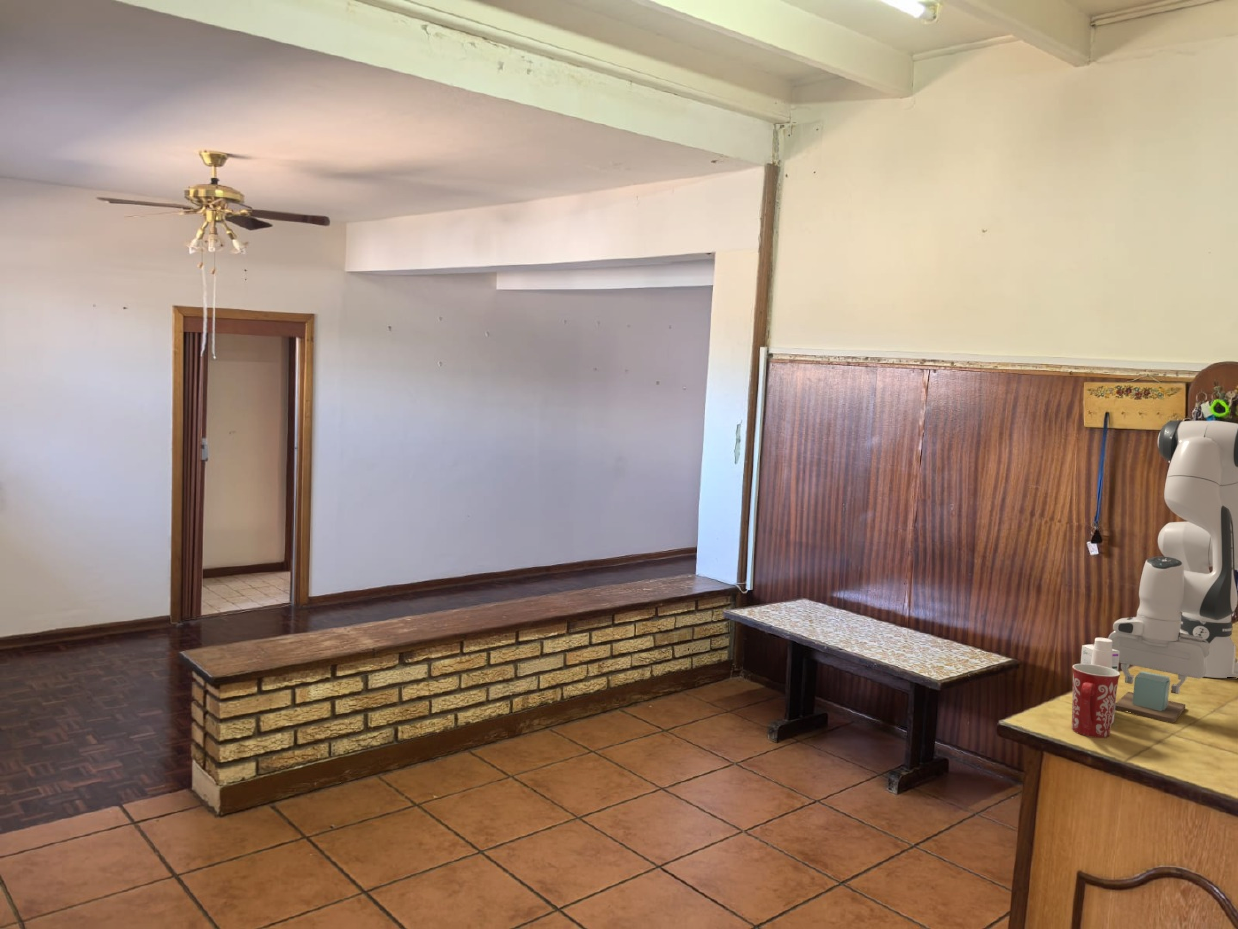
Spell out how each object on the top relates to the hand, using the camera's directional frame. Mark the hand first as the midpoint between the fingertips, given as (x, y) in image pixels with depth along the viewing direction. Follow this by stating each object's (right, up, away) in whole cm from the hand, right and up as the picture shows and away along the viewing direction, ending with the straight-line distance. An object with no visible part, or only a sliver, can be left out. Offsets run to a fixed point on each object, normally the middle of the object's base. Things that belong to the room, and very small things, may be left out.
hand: (1151, 688), depth 219 cm
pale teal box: (0, -4, 0) cm, 4 cm away
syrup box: (-14, -5, -2) cm, 15 cm away
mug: (-23, -6, -18) cm, 30 cm away
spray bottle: (-17, -5, -9) cm, 20 cm away
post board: (0, -5, 0) cm, 5 cm away
